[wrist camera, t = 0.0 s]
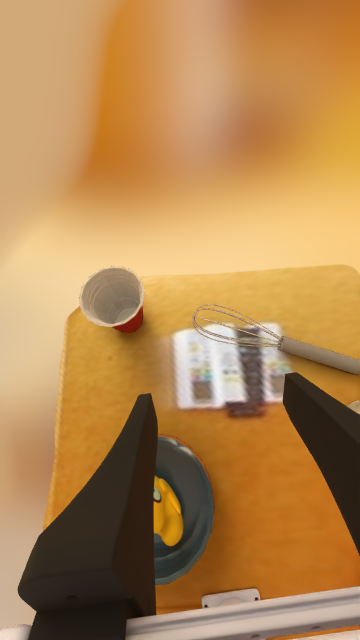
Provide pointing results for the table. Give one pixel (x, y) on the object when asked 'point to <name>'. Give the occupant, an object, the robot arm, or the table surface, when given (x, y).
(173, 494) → the duckling
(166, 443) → the bowl
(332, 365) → the kitchen whisk
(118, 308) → the plastic cup
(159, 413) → the table surface
